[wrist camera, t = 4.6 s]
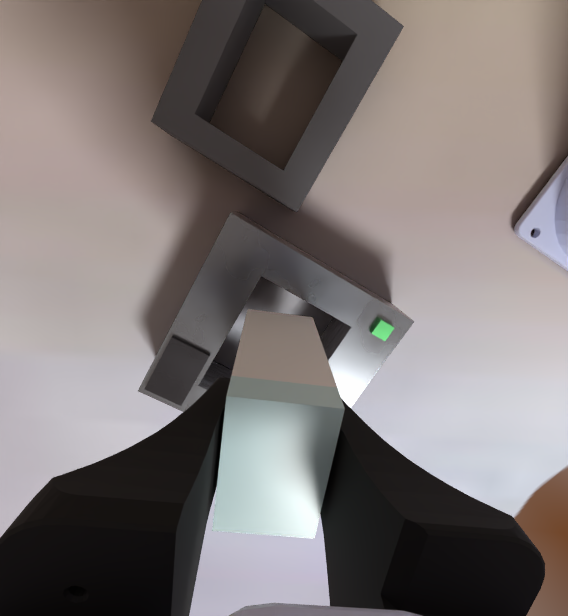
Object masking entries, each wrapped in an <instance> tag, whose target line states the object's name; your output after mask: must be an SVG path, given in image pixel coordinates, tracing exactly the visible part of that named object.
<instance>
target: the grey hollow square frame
mask: <svg viewBox="0 0 568 616" xmlns="http://www.w3.org/2000/svg"><path fill="white" fill-rule="evenodd" d="M264 4H266V5H267V6H269V7H270V8H272V9H273V10H274V11H276V12H277V13H278V14H280V15H281V16H282V17H284V18H285V19H286V20H288V21H289V22H291V23H292V24H293V25H295V26H296V27H297V28H299V29H300V30H301V31H303V32H304V33H305V34H307V35H308V36H310V37H311V38H312V39H314V40H315V41H316V42H318V43H319V44H320V45H322V46H323V47H324V48H326V49H327V50H328V51H330V52H331V53H333V54H334V55H335V56H337V57H338V58H339V59H341V60H342V61H343V62H342V64H341V66H340V68H339V69H338V71H337V73H336V75H335V77H334V79H333V80H332V82H331V84H330V86H329V88H328V90H327V91H326V93H325V95H324V97H323V99H322V101H321V102H320V104H319V106H318V108H317V110H316V112H315V113H314V115H313V117H312V119H311V121H310V123H309V125H308V126H307V128H306V130H305V132H304V134H303V136H302V137H301V139H300V141H299V143H298V145H297V147H296V148H295V150H294V152H293V154H292V156H291V158H290V159H289V161H288V163H287V165H286V167H285V169H284V170H282V169H280V168H278V167H277V166H275V165H274V164H272V163H271V162H269V161H267V160H266V159H264V158H263V157H261V156H260V155H258V154H256V153H255V152H253V151H252V150H250V149H249V148H247V147H246V146H244V145H242V144H241V143H239V142H238V141H236V140H235V139H233V138H231V137H230V136H228V135H227V134H225V133H224V132H222V131H221V130H219V129H217V128H216V127H214V126H213V125H211V124H210V123H209V122H210V120H211V118H212V116H213V114H214V111H215V109H216V107H217V105H218V103H219V101H220V99H221V96H222V94H223V92H224V90H225V88H226V86H227V84H228V81H229V79H230V77H231V75H232V73H233V71H234V69H235V66H236V64H237V62H238V60H239V58H240V56H241V54H242V51H243V49H244V47H245V45H246V43H247V41H248V39H249V37H250V34H251V32H252V30H253V28H254V26H255V24H256V22H257V19H258V17H259V15H260V13H261V11H262V9H263V7H264ZM403 27H404V26H403V25H402V24H400V23H399V22H398V21H397V20H395V19H394V18H393V17H392V16H390V15H389V14H388V13H387V12H385V11H384V10H383V9H381V8H380V7H379V6H378V5H376V4H375V3H374V2H373V1H371V0H202V2H201V4H200V6H199V9H198V11H197V14H196V16H195V18H194V21H193V23H192V25H191V28H190V30H189V32H188V35H187V37H186V40H185V42H184V44H183V47H182V49H181V51H180V54H179V56H178V59H177V61H176V63H175V66H174V68H173V70H172V73H171V75H170V78H169V80H168V82H167V85H166V87H165V89H164V92H163V94H162V96H161V99H160V101H159V104H158V106H157V108H156V111H155V113H154V115H153V118H152V120H151V122H153V123H154V124H155V125H157V126H158V127H160V128H161V129H163V130H164V131H165V132H167V133H168V134H170V135H171V136H173V137H174V138H176V139H178V140H179V141H181V142H183V143H184V144H186V145H187V146H189V147H191V148H192V149H194V150H195V151H197V152H199V153H200V154H202V155H204V156H205V157H207V158H208V159H210V160H212V161H213V162H215V163H217V164H218V165H220V166H221V167H223V168H225V169H226V170H228V171H229V172H231V173H233V174H234V175H236V176H238V177H239V178H241V179H242V180H244V181H246V182H247V183H249V184H251V185H252V186H254V187H255V188H257V189H259V190H260V191H262V192H263V193H265V194H267V195H268V196H270V197H272V198H273V199H275V200H276V201H278V202H280V203H281V204H283V205H285V206H286V207H288V208H289V209H291V210H293V211H295V212H298V210H299V208H300V206H301V205H302V203H303V201H304V199H305V198H306V196H307V194H308V192H309V191H310V189H311V187H312V185H313V184H314V182H315V180H316V178H317V177H318V175H319V173H320V172H321V170H322V168H323V166H324V165H325V163H326V161H327V159H328V158H329V156H330V154H331V152H332V151H333V149H334V147H335V145H336V144H337V142H338V140H339V138H340V137H341V135H342V133H343V131H344V130H345V128H346V126H347V124H348V123H349V121H350V119H351V118H352V116H353V114H354V112H355V111H356V109H357V107H358V105H359V104H360V102H361V100H362V98H363V97H364V95H365V93H366V91H367V90H368V88H369V86H370V84H371V83H372V81H373V79H374V77H375V76H376V74H377V72H378V71H379V69H380V67H381V65H382V64H383V62H384V60H385V58H386V57H387V55H388V53H389V51H390V50H391V48H392V46H393V44H394V43H395V41H396V39H397V37H398V36H399V34H400V32H401V30H402V29H403Z"/></svg>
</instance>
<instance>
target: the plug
mask: <svg viewBox="0 0 568 616" xmlns="http://www.w3.org/2000/svg"><path fill="white" fill-rule="evenodd" d="M344 410H345V408H344V405H343V402H342V399H341V397H340V394H339V391H338V388H337V385H336V382H335V379H334V377H333V374H332V371H331V368H330V365H329V362H328V360H327V357H326V354H325V351H324V348H323V345H322V342H321V340H320V337H319V334H318V331H317V328H316V325H315V323H314V320H313V317H306V316H298V315H290V314H282V313H274V312H267V311H259V310H251V309H248V310H247V314H246V318H245V322H244V326H243V330H242V334H241V338H240V343H239V347H238V351H237V355H236V359H235V363H234V367H233V371H232V375H231V379H230V383H229V387H228V392H227V396H226V404H225V414H224V423H223V433H222V442H221V452H220V461H219V471H218V480H217V490H216V499H215V509H214V518H213V528H212V531H221V532H234V533H247V534H260V535H273V536H286V537H300V538H313V539H314V538H315V534H316V530H317V525H318V521H319V517H320V513H321V508H322V504H323V500H324V495H325V491H326V487H327V483H328V478H329V474H330V470H331V466H332V461H333V457H334V453H335V449H336V444H337V440H338V436H339V432H340V427H341V423H342V419H343V415H344Z"/></svg>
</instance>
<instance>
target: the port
mask: <svg viewBox="0 0 568 616" xmlns="http://www.w3.org/2000/svg"><path fill="white" fill-rule="evenodd" d="M261 276H262V277H264V278H266V279H267V280H269V281H271V282H273V283H275V284H276V285H278V286H280V287H282V288H283V289H285V290H287V291H289V292H291V293H292V294H294V295H296V296H298V297H299V298H301V299H303V300H305V301H306V302H308V303H310V304H312V305H314V306H315V307H317V308H319V309H321V310H322V311H324V312H326V313H328V314H330V315H331V316H333V319H332V320H331V322H330V324H329V325H328V327H327V328H326V330H325V331H324V333H323V334H322V336H321V337H320V340H321V342H322V345H323V348H324V351H325V354H326V357H327V360H328V362H329V365H330V368H331V371H332V374H333V377H334V379H335V382H336V385H337V388H338V391H339V394H340V397H341V398H342V399H343V400H344V402H345V403H346V404H347V405H348V406H349V407H350V408H351V407H352V405H353V404H354V403H355V401H356V400H357V399H358V397H359V396H360V394H361V393H362V392H363V390H364V389H365V388H366V386H367V385H368V384H369V382H370V381H371V380H372V378H373V377H374V375H375V374H376V373H377V371H378V370H379V369H380V367H381V366H382V365H383V363H384V362H385V361H386V359H387V358H388V356H389V355H390V354H391V352H392V351H393V350H394V348H395V347H396V346H397V344H398V343H399V342H400V340H401V339H402V338H403V336H404V335H405V333H406V332H407V331H408V329H409V328H410V327H411V325H412V324H413V323H414V321H413V320H412V319H410V318H409V317H408V316H407V315H405V314H404V313H403V312H402V311H400V310H399V309H398V308H397V307H396V306H394V305H393V304H392V303H390V302H388V301H387V300H385V299H383V298H381V297H380V296H378V295H376V294H375V293H373V292H371V291H370V290H368V289H366V288H365V287H363V286H361V285H360V284H358V283H356V282H355V281H353V280H351V279H350V278H348V277H346V276H345V275H343V274H341V273H340V272H338V271H336V270H335V269H333V268H331V267H329V266H328V265H326V264H324V263H323V262H321V261H319V260H318V259H316V258H314V257H313V256H311V255H309V254H308V253H306V252H304V251H303V250H301V249H299V248H298V247H296V246H294V245H293V244H291V243H289V242H288V241H286V240H284V239H282V238H281V237H279V236H277V235H276V234H274V233H272V232H271V231H269V230H267V229H266V228H264V227H262V226H261V225H259V224H257V223H256V222H254V221H252V220H251V219H249V218H247V217H246V216H244V215H242V214H241V213H239V212H232V213H230V215H229V216H228V218H227V220H226V222H225V224H224V226H223V228H222V230H221V232H220V234H219V236H218V238H217V240H216V241H215V243H214V245H213V247H212V249H211V251H210V253H209V255H208V257H207V259H206V261H205V263H204V265H203V266H202V268H201V270H200V272H199V274H198V276H197V278H196V280H195V282H194V284H193V286H192V288H191V290H190V292H189V293H188V295H187V297H186V299H185V301H184V303H183V305H182V307H181V309H180V311H179V313H178V315H177V317H176V318H175V320H174V322H173V324H172V326H171V328H170V330H169V332H168V334H167V336H166V338H165V340H164V342H163V344H162V345H161V347H160V349H159V351H158V353H157V355H156V357H155V359H154V361H153V363H152V365H151V367H150V369H149V370H148V372H147V374H146V376H145V378H144V380H143V382H142V384H141V386H140V388H139V390H138V391H139V392H141V393H143V394H146V395H148V396H150V397H152V398H154V399H156V400H159V401H161V402H163V403H165V404H167V405H170V406H172V407H174V408H176V409H178V410H181V411H183V412H184V411H185V410H187V409H188V408H189V407H190V406H191V405H192V404H193V403H195V402H196V401H197V400H198V399H199V398H200V397H201V396H202V395H203V394H204V393H205V392H206V391H207V390H208V389H209V388H210V386H211V385H212V384H213V383H214V382H215V381H216V379H218V378H219V377H223V378H231V375H232V370H230V369H228V368H226V367H224V366H222V365H220V364H218V363H216V362H214V361H213V359H214V358H215V356H216V354H217V352H218V351H219V349H220V347H221V345H222V344H223V342H224V340H225V338H226V337H227V335H228V333H229V331H230V330H231V328H232V326H233V324H234V323H235V321H236V319H237V318H238V316H239V314H240V312H241V311H242V309H243V307H244V305H245V304H246V302H247V300H248V298H249V297H250V295H251V293H252V291H253V290H254V288H255V286H256V284H257V283H258V281H259V279H260V278H261Z"/></svg>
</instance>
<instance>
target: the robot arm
mask: <svg viewBox="0 0 568 616" xmlns="http://www.w3.org/2000/svg"><path fill="white" fill-rule="evenodd" d="M533 229H534V230H535V233H534V235H533V236H532V237H531V231H532V230H533ZM514 231H515V234H516V235H517V236H518V237H520V238H521V239H523V240H524V241H525V242H527V243H528V244H530V245H531V246H532V247H534V248H535V249H537V250H538V251H540V252H541V253H542V254H544V255H545V256H547V257H548V258H550V259H551V260H552V261H554V262H555V263H557V264H558V265H559V266H561V267H562V268H564V269H565V270H567V271H568V156H567V158H566V159H565V160H564V161H563V163H562V164H561V165H560V167H559V168H558V169H557V171H556V172H555V173H554V175H553V176H552V177H551V179H550V180H549V181H548V182H547V184H546V185H545V186H544V188H543V189H542V190H541V192H540V193H539V194H538V196H537V197H536V198H535V200H534V201H533V202H532V203H531V205H530V206H529V207H528V209H527V210H526V211H525V213H524V214H523V215H522V217H521V218H520V219H519V221H518V222H517V223H516V225H515V229H514ZM230 379H231V378H223V377H219V378H218V379H216V381H215V382H214V383H213V384H212V385H211V386H210V388H209V389H208V390H207V391H206V392H205V393H204V394H203V395H202V396H201V397H200V398H199V399H198V400H197V401H196V402H195V403H193V404H192V405H191V406H190V407H189V408H188V409H187V410H185V411H184V412H183V413H182V414H181V415H179V416H178V417H177V418H176V419H175V420H173V421H172V422H171V423H169V424H168V425H166V426H165V427H164V428H162V429H161V430H159V431H158V432H156V433H155V434H153V435H151V436H149V437H148V438H146V439H144V440H142V441H140V442H139V443H137V444H135V445H133V446H131V447H129V448H127V449H125V450H123V451H121V452H119V453H117V454H115V455H113V456H110V457H108V458H106V459H103V460H101V461H99V462H96V463H94V464H91V465H88V466H86V467H83V468H80V469H77V470H74V471H71V472H69V473H66V474H63V475H60V476H57V477H54V478H52V479H51V480H50V481H49V482H48V483H47V484H46V485H45V486H44V488H43V489H42V490H41V491H40V492H39V493H38V494H37V495H36V496H35V497H34V498H33V499H32V500H31V501H30V503H29V504H28V505H27V506H26V507H25V509H24V510H23V511H22V512H21V513H20V515H19V516H18V517H17V518H16V519H15V521H14V522H13V523H12V524H11V526H10V527H9V528H8V529H7V530H6V532H5V533H4V534H3V535H2V536H1V538H0V616H189V613H190V607H191V602H192V597H193V591H194V586H195V581H196V575H197V570H198V565H199V560H200V554H201V549H202V544H203V539H204V534H205V529H206V523H207V519H208V515H209V511H210V507H211V504H212V501H213V497H214V494H215V490H216V487H217V480H218V471H219V461H220V452H221V442H222V433H223V423H224V414H225V404H226V396H227V392H228V387H229V383H230ZM341 399H342V398H341ZM342 402H343V405H344V408H345V410H344V415H343V419H342V423H341V427H340V432H339V436H338V440H337V444H336V449H335V453H334V457H333V461H332V466H331V470H330V474H329V478H328V483H327V487H326V491H325V495H324V500H323V504H322V508H321V513H320V514H321V520H322V526H323V533H324V542H325V552H326V562H327V573H328V585H329V596H330V606H316V605H300V604H283V603H269V604H261V605H253V606H245V607H243V608H241V609H240V610H238V611H236V612H234V613H233V614H231V615H229V616H526V615H527V613H528V611H529V609H530V607H531V606H532V604H533V602H534V600H535V598H536V596H537V594H538V592H539V591H540V589H541V586H542V583H543V580H544V577H545V563H544V560H543V558H542V556H541V553H540V552H539V551H538V549H537V548H536V547H535V545H534V544H533V543H532V542H531V540H530V539H529V538H528V536H527V535H526V534H525V532H524V531H523V530H522V529H521V527H520V526H519V525H518V523H517V522H516V521H515V520H514V518H513V517H512V516H510V515H508V514H506V513H504V512H502V511H500V510H497V509H495V508H493V507H491V506H489V505H487V504H485V503H483V502H480V501H478V500H476V499H474V498H472V497H470V496H468V495H466V494H464V493H463V492H461V491H459V490H457V489H455V488H453V487H452V486H450V485H448V484H446V483H445V482H443V481H441V480H439V479H438V478H436V477H434V476H433V475H431V474H430V473H428V472H427V471H425V470H424V469H422V468H420V467H419V466H417V465H416V464H414V463H413V462H412V461H410V460H409V459H407V458H406V457H405V456H403V455H402V454H401V453H399V452H398V451H397V450H395V449H394V448H393V447H392V446H390V445H389V444H388V443H387V442H385V441H384V440H383V439H382V438H381V437H380V436H379V435H378V434H376V433H375V432H374V431H373V430H372V429H371V428H370V427H369V426H368V425H367V424H366V423H365V422H364V421H363V420H362V419H361V418H360V417H359V416H358V415H357V414H356V413H355V412H354V411H353V410H352V409H351V408H350V407H349V406H348V405H347V404H346V403H345V402H344V400H343V399H342Z"/></svg>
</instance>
